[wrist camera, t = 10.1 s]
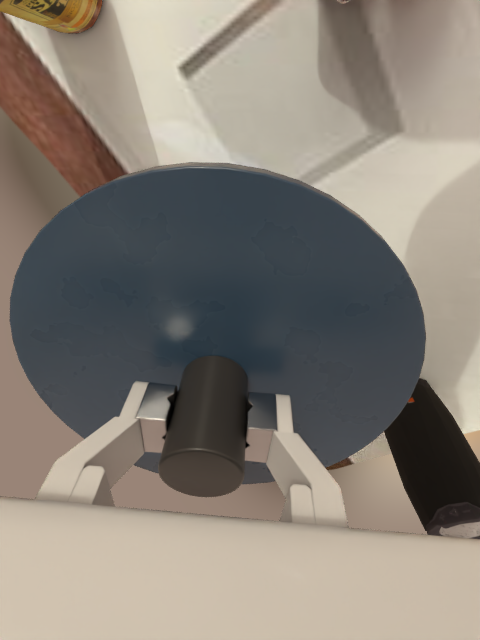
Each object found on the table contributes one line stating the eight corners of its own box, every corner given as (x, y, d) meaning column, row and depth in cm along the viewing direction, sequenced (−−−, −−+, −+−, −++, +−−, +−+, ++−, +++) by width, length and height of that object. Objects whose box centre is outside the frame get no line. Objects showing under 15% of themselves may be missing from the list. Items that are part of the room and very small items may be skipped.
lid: (-39, 133, 10) (-274, 171, 5) (495, 184, 10) (677, 260, 6) (73, 450, 19) (18, 557, 14) (351, 475, 19) (378, 590, 14)
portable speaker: (378, 374, 49) (435, 515, 33) (444, 374, 48) (536, 518, 32) (367, 412, 54) (413, 552, 38) (427, 413, 53) (499, 555, 37)
